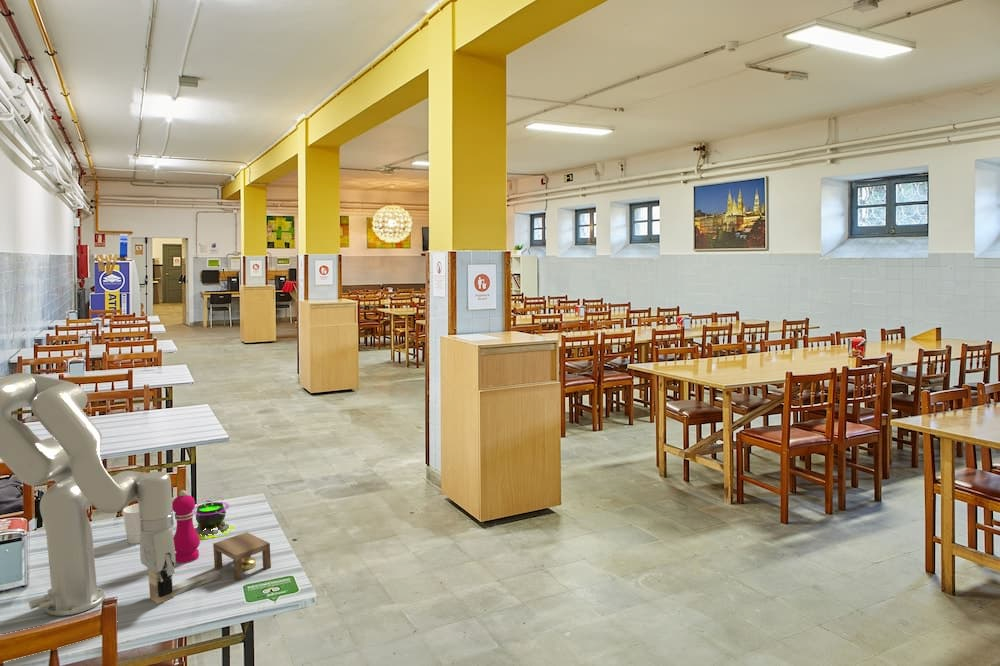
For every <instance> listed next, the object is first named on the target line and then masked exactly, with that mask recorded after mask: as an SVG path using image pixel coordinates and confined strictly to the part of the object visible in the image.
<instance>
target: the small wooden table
mask: <svg viewBox="0 0 1000 666" xmlns="http://www.w3.org/2000/svg"><path fill="white" fill-rule="evenodd" d="M212 546H213V562H214V563H213V564H214V569H215V570H219V569H222V568H223V555H225V556H227V558H229V559H232V561H233V563H232V564H233V579H234V580H235V581H239V580H242V579H243V571H242V562H241V559H243V558H245V557H251V556H253V555H256V554H258V553H259V554H260V553H262V567H263V568H262V569H265V570H268V569H271V567H272V566H271V565H272V563H271V562H272V561H271V560H272V559H271V543H270V542H268V541H267V540H264V539H262V538H260V537H257V536H255V535H254V534H252V533H250V532H247V531H246V532H243V533H239V534H238V535H234V536H231V537H229V538H225V539H223V540H220V541H217V542H213V545H212Z"/></svg>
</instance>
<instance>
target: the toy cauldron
mask: <svg viewBox="0 0 1000 666" xmlns="http://www.w3.org/2000/svg"><path fill="white" fill-rule="evenodd" d="M210 494H211V493H210ZM210 494H207V496H208V495H210ZM201 497H202V499H199V500H197V502H195V505H197V506H195V507H194V509H193V511H194V513H193V514H194V516H195V520H196V522H197V523H196V525H197V524H198V525H197V526H198V527H197V528H195V530H196V532H197V534H198V536H199V539H200V540H210V539H209V538H212V537H214V538H212V539H216V538H215V537H217V538H219V537H220V536H215V535H214V534H217V533H218V530H220V531H221V532H222V533H223V534H224V536H227V535H226V533H225V532H224V531H226V532H227V533H229V534H231V533H232V532H231V531H229V532H228V531H227V529H234V526H231V527H230V528H229V524H225V521H223V520H225V518H226V515H227V512H226V511H227V510H228V509H230V504H229V503H227V502H223V500H222V501H216V502H215V501H211V502H206V503H201V504H198V502H199V501H201V500H202V502H204V500H207V499H210V497H205V496H204V495H203V496H201ZM214 498H217V494H215V493H214ZM219 498H220V499H222V497H220V496H219V497H218V499H219ZM224 506H225V507H224ZM195 510H196V511H195ZM216 527H217V528H218V530H212V531H211V529H213V528H216ZM205 528H206V530H204V529H205ZM203 530H204V531H203ZM230 532H231V533H230ZM200 534H201V535H202V536H201V535H200ZM208 534H212V535H208ZM205 535H206V536H207V537H208V538H205ZM224 536H223V535H222V536H221V537H224Z"/></svg>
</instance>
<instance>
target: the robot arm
mask: <svg viewBox="0 0 1000 666" xmlns="http://www.w3.org/2000/svg"><path fill="white" fill-rule="evenodd" d="M87 404H88V395H87V392H86V391H85V390H84V389H83V388H82V387H81V386H80V385H78V384H76V383H75V382H71V381H67V380H63V379H59V378H55V377H54V378H53V377H49V376H43V375H39V374H34V373H28V372H18V373H13V374H9V375H7V376H3V377H0V460H1V461H2V462H3V463H4V464H5V465H6V466H7V468H9V470H10V471H11V472H12V473H13V474H14V475H15V476H16V478H18V479H19V480H20V481H21V482H22V483H24V484H25V485H28V486H31V487H36V486H41V485H43V484H45V483H47V482H49V481H50V480H53V481H54V482H55V483H53V484H52V485H51V486H49V487H48V488H47V489H46V490H45V492H44V493H43V495H42V496H41V498H40V500H39V501H40V502H39V511H40V515H41V518H42V519H41V520H42V522H43V526H44V529H45V536H46V545H47V552H48V553H47V555H48V567H49V576H50V577H49V578H50V587H51V588H50V589H48V590H47V593H46V594H44V595H43V596H42V597H40V598H35V599H33V600H29V602H28V606H29V609H30V610H34V609H36V608H38V609H39V610H43V609H45V612H46V613H47V614H48V615H51V616H57V617H58V616H59V617H62V616H71V615H76V614H79V613H83V612H86V611H89V610H90V609H93V608H95V607H97V606H98V605H99V604H101V603H102V602H101V600H102V599H103V600H104V599H105V591H104V589H102V588H100V587H97V575H96V562H95V549H94V539H93V538H94V537H93V529H92V525H91V521H90V520H89V517H88V515H87V514H88V513H87V510H88V509H89V508H90V507H91V506H93V507H94V508H95V509H97V510H98V511H100V512H102V513H105V514H116V513H118V512H120V511H123V509H124V508H126V507H128V506H129V504H130V503H132V502H134V501H137V504H138V507H139V521H140V531H141V533H140V543H139V553H140V563H141V564H142V565H144V566H145V567H146V568H147V569H148V568H149V569H151V570H152V571H154V572H156V573H158V576H159V582H158V594H159V597H163V596H166V595H168V594H171V593H172V584H173V575H174V574H175V566H176V559H175V553H176V551H175V547H174V539H173V538H174V533H173V529H172V528H173V527H174V525H175V524H174V523H175V522H174V511H173V508H172V502H173V497H172V495H173V494H172V480H171V476H170V474H169V473H168V472H166V471H150V472H141V471H134V470H123V471H121V472H118V473H117V474H115V475H114V476H111V475H110V474H109V473H108V471H107V470H106V468H105V467H104V464H103V462H102V459H101V444H102V432H101V431H100V430H99V429H98V427H97V426H96V425H95V424H94V422H93V421H92V420H91V419H90V417H88V415H87V414H86V413H85V411H84V409H85V408H86V406H87ZM24 407H28V408H31V411H32V413H33V415H34V416H35V417H36V419H37V420H38V421H39V423H40V424H41V425H42V426H43V428H44V429H45V430H46V431H47V433H49V435H50V437H47V438H43V440H42V439H40V438H39V437H38V436H37V435H36V434H35V433H34V432H33V431H32V430H31V428H30V427H29V426H28V425H26V424H25V423H24V422H23V421H20V420H19V419H17V418H15V417H14V416H13V415H12V412H14V411H17V410H19V409H22V408H24ZM163 566H166V567H164V568H163ZM165 570H167V571H166V573H164V574H163V575H162V572H163V571H165Z"/></svg>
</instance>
